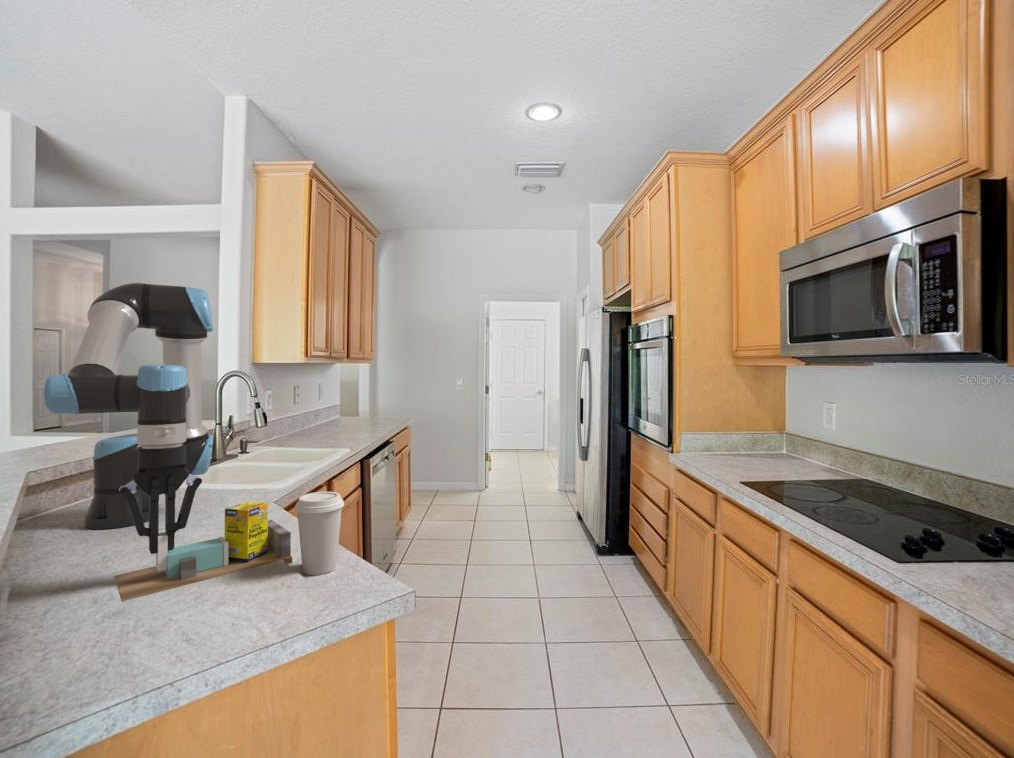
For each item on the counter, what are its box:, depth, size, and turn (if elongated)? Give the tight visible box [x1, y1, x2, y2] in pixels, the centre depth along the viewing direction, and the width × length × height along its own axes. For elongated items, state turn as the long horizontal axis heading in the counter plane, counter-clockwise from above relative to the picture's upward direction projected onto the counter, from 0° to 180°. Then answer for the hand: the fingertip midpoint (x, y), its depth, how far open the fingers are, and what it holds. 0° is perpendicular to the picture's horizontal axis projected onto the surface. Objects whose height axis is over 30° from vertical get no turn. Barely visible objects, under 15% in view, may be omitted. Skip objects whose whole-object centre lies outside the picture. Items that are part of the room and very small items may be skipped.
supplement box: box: [224, 501, 269, 562], centre depth 99 cm, size 6×6×11 cm
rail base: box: [114, 519, 293, 602], centre depth 94 cm, size 14×28×6 cm, turn 134°
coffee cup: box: [294, 491, 345, 576], centre depth 96 cm, size 10×10×15 cm
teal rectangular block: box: [164, 536, 228, 579], centre depth 92 cm, size 5×10×5 cm, turn 134°
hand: (161, 568), depth 88 cm, fingers closed
